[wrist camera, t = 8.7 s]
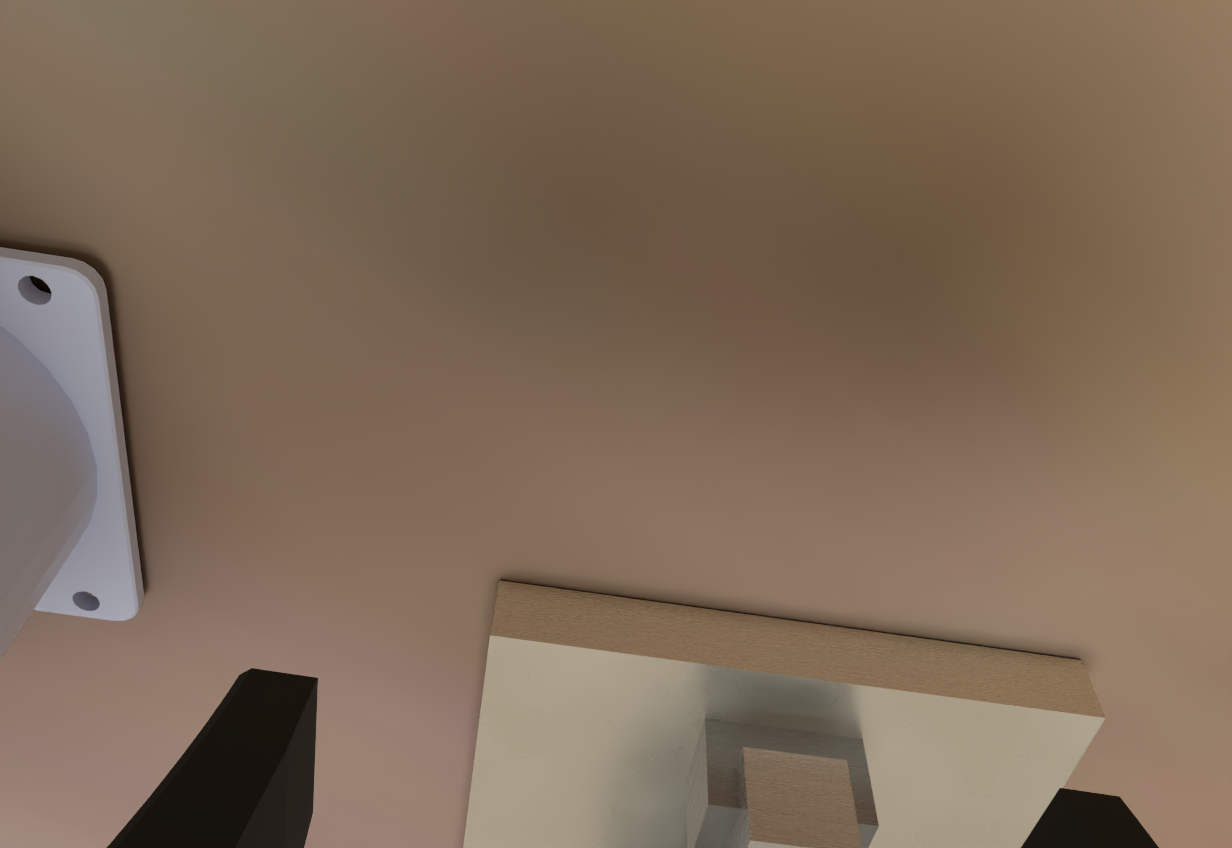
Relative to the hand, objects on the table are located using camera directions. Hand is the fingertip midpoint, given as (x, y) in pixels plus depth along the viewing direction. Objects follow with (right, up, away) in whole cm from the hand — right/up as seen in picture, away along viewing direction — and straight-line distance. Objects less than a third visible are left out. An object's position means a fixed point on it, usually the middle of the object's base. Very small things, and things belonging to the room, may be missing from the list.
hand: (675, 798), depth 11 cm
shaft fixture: (+1, -9, +18) cm, 20 cm away
